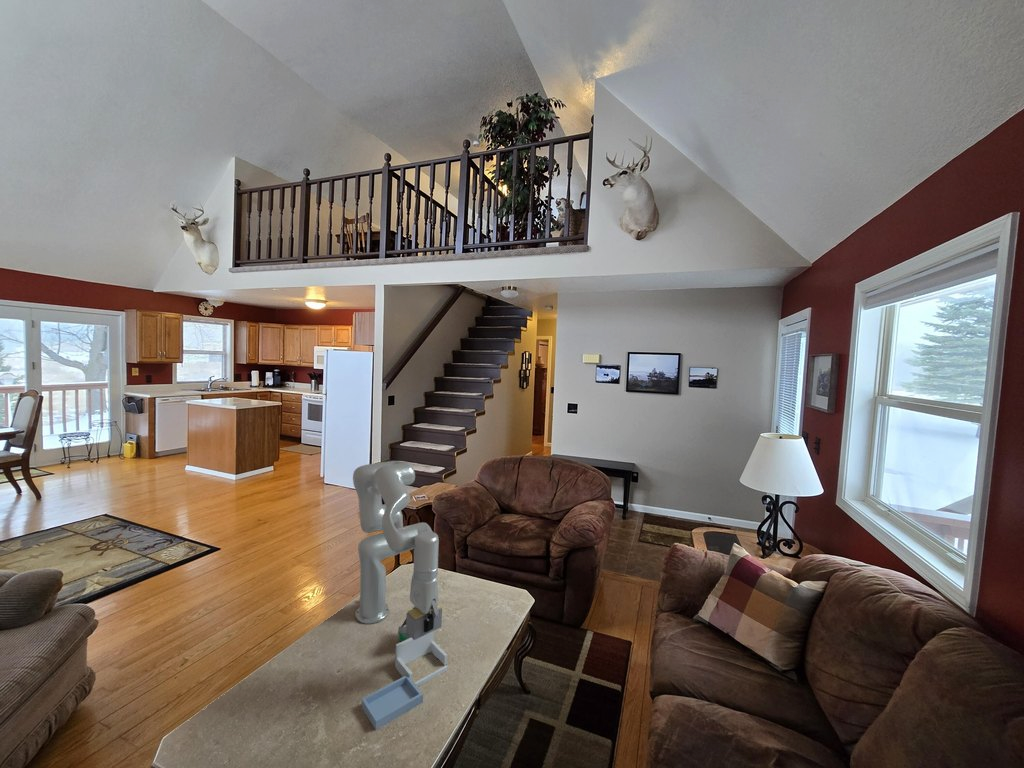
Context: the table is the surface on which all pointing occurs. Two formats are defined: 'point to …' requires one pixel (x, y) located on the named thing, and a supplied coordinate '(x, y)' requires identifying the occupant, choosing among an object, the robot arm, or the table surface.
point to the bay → (418, 655)
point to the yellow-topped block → (420, 622)
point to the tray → (391, 701)
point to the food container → (403, 632)
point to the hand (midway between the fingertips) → (423, 625)
